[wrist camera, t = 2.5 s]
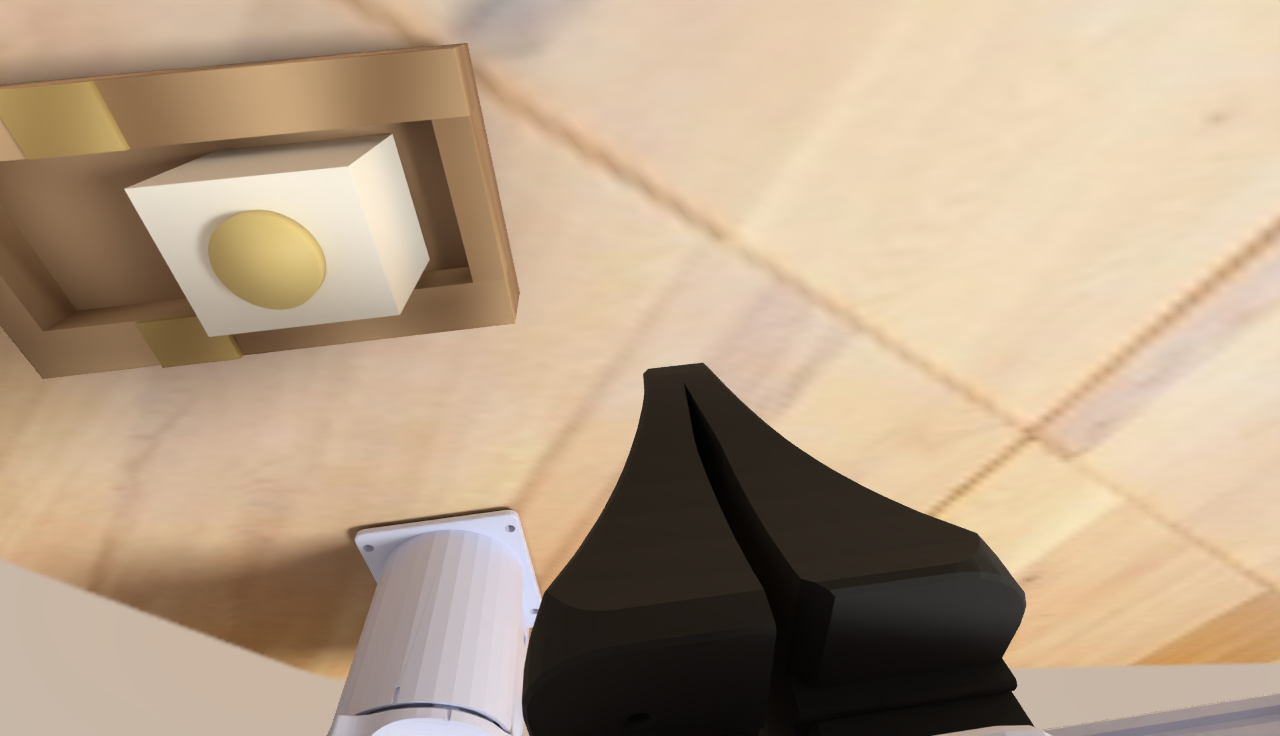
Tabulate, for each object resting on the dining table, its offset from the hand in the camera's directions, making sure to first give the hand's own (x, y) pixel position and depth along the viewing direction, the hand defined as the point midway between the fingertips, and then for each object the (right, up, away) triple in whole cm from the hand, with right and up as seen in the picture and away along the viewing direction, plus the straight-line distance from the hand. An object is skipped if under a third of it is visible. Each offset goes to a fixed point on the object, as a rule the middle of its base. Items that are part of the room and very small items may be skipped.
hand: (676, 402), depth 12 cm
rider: (-10, +6, +5) cm, 13 cm away
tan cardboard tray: (-13, +7, +7) cm, 16 cm away
